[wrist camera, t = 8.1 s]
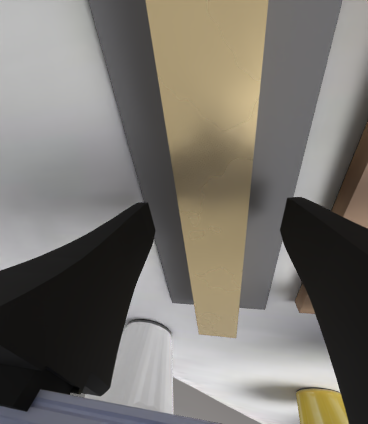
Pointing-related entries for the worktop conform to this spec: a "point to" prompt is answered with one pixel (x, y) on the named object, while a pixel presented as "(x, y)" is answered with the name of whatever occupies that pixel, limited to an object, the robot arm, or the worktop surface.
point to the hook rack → (348, 203)
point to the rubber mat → (264, 140)
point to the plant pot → (321, 407)
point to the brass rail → (211, 138)
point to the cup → (142, 369)
